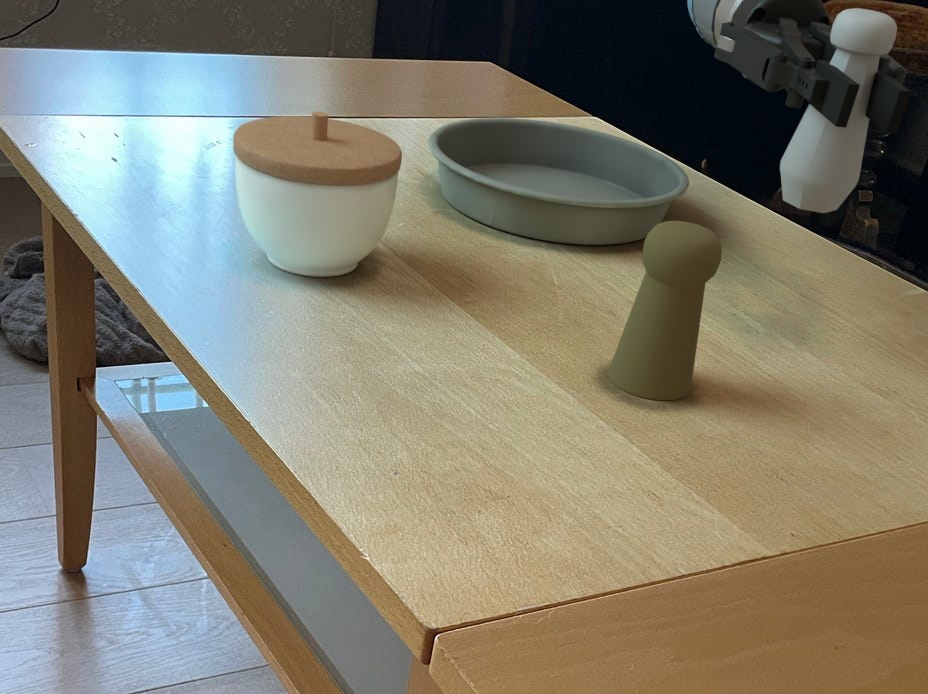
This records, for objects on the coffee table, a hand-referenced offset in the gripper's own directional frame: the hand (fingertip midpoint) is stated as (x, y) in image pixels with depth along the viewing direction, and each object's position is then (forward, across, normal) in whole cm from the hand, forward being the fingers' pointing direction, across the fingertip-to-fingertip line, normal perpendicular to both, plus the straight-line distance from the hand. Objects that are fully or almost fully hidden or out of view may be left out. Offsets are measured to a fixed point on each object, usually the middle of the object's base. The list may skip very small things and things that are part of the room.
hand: (873, 108), depth 78 cm
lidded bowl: (-11, +37, -18) cm, 42 cm away
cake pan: (-30, +14, -18) cm, 38 cm away
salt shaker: (-5, 0, -8) cm, 10 cm away
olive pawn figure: (+6, +13, -18) cm, 23 cm away
